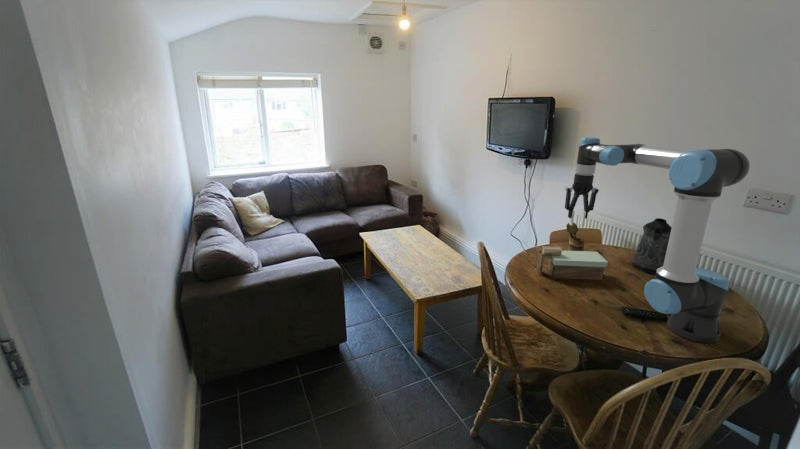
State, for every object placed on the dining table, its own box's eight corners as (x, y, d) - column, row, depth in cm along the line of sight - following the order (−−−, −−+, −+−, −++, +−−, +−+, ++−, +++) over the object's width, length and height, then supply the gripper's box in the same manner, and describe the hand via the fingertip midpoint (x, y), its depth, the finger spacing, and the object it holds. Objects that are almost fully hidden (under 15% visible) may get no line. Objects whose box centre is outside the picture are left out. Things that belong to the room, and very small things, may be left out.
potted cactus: (573, 252, 204) (579, 220, 198) (587, 262, 191) (593, 229, 185) (557, 252, 203) (562, 221, 198) (570, 263, 191) (575, 229, 185)
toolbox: (601, 279, 174) (606, 258, 170) (540, 277, 176) (543, 256, 172) (593, 270, 183) (597, 250, 179) (535, 268, 185) (537, 248, 181)
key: (561, 255, 175) (562, 249, 174) (543, 254, 176) (544, 248, 175) (559, 252, 178) (560, 246, 177) (541, 252, 178) (542, 246, 177)
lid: (606, 267, 170) (607, 262, 169) (554, 265, 172) (555, 260, 171) (596, 256, 181) (597, 251, 181) (546, 254, 183) (547, 249, 182)
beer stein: (660, 262, 193) (671, 215, 185) (679, 279, 175) (693, 228, 167) (625, 259, 196) (634, 213, 187) (640, 276, 177) (652, 225, 169)
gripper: (601, 172, 166) (592, 222, 174) (561, 171, 168) (554, 221, 175) (608, 176, 159) (599, 228, 167) (566, 175, 161) (559, 226, 168)
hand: (576, 224), depth 171 cm, fingers open, 4 cm apart
